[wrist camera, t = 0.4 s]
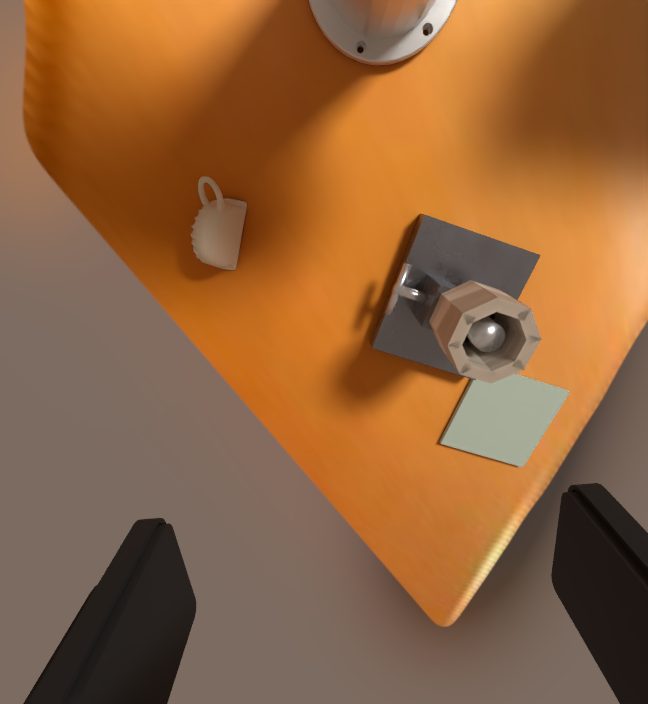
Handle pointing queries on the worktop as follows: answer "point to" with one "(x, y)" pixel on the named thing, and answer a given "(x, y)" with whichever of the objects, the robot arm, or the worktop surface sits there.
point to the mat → (503, 418)
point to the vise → (446, 289)
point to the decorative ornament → (218, 228)
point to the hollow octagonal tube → (473, 305)
